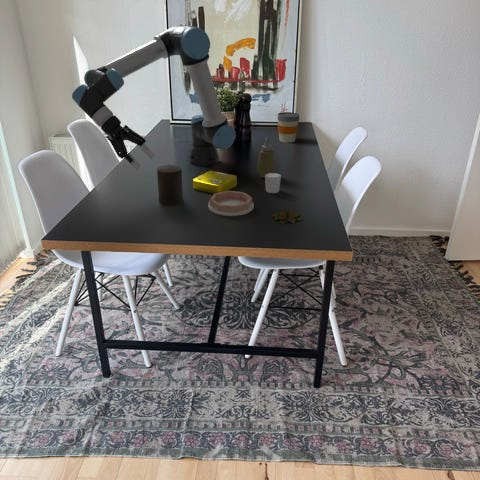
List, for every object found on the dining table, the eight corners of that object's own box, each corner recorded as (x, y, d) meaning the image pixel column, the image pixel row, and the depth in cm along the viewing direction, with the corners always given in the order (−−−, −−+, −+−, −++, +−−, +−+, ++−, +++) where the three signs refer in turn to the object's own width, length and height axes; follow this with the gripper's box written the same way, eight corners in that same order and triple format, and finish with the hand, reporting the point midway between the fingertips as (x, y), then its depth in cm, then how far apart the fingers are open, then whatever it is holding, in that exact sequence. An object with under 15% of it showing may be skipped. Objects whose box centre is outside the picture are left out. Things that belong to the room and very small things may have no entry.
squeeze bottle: (273, 180, 207) (275, 141, 199) (255, 178, 208) (256, 139, 200) (275, 174, 214) (277, 136, 206) (258, 172, 215) (259, 135, 207)
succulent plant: (280, 228, 164) (280, 216, 162) (265, 215, 174) (265, 204, 172) (308, 222, 169) (309, 211, 166) (293, 210, 178) (293, 199, 176)
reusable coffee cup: (299, 143, 261) (300, 117, 254) (277, 143, 261) (278, 116, 254) (296, 137, 272) (298, 112, 265) (275, 137, 272) (277, 111, 265)
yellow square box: (238, 185, 202) (238, 174, 200) (220, 196, 191) (220, 185, 188) (210, 179, 209) (210, 169, 207) (191, 189, 197) (190, 178, 195)
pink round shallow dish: (215, 196, 189) (215, 188, 188) (257, 200, 186) (258, 192, 184) (202, 213, 174) (202, 204, 172) (248, 218, 170) (248, 209, 169)
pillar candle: (172, 207, 179) (170, 170, 172) (153, 201, 183) (151, 165, 177) (187, 199, 186) (186, 164, 179) (169, 194, 191) (167, 159, 184)
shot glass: (282, 189, 197) (283, 173, 194) (278, 194, 192) (278, 178, 188) (266, 187, 199) (267, 171, 196) (262, 192, 194) (263, 176, 190)
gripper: (116, 120, 188) (153, 158, 192) (84, 135, 166) (126, 178, 170) (127, 108, 184) (164, 147, 188) (96, 121, 163) (138, 166, 166)
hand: (146, 162), depth 179 cm, fingers open, 13 cm apart
